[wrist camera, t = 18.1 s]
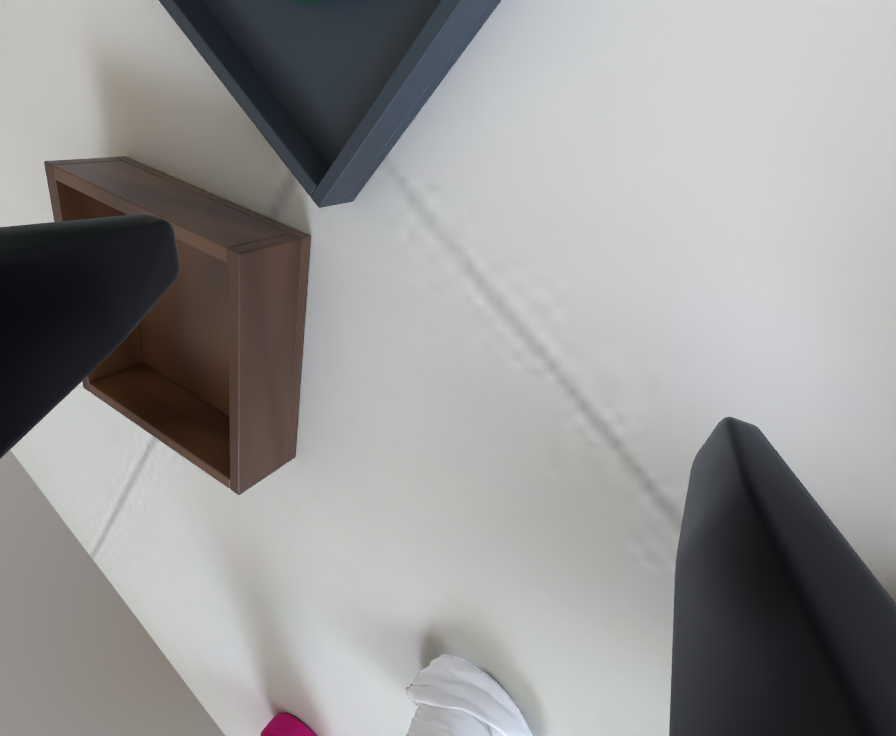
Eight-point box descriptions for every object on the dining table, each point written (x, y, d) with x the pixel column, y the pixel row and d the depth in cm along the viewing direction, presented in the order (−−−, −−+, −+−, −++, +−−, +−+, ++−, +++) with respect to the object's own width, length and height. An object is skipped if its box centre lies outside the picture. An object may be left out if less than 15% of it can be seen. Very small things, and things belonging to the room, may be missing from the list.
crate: (311, 236, 25) (239, 253, 22) (295, 457, 32) (238, 496, 29) (125, 156, 30) (43, 160, 27) (145, 364, 37) (82, 387, 33)
